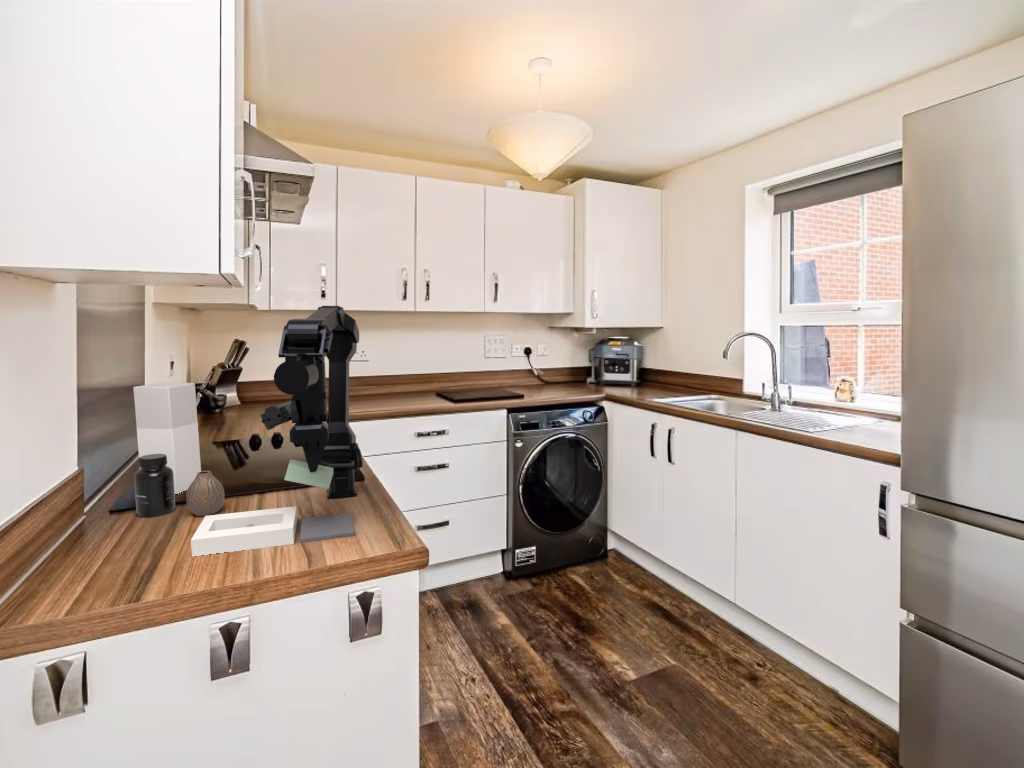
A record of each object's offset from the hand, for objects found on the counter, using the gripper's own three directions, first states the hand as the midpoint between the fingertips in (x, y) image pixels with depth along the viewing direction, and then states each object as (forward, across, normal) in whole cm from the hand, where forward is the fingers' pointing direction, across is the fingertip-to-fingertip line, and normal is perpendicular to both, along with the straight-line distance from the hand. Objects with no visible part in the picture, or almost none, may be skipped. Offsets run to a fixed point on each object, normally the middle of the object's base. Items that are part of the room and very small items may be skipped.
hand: (313, 469), depth 102 cm
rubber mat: (+12, 0, +2) cm, 12 cm away
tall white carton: (+12, -37, -34) cm, 52 cm away
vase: (+12, -16, -22) cm, 30 cm away
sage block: (+2, 0, -1) cm, 3 cm away
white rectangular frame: (+12, 0, -12) cm, 17 cm away
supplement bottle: (+12, -20, -32) cm, 40 cm away
